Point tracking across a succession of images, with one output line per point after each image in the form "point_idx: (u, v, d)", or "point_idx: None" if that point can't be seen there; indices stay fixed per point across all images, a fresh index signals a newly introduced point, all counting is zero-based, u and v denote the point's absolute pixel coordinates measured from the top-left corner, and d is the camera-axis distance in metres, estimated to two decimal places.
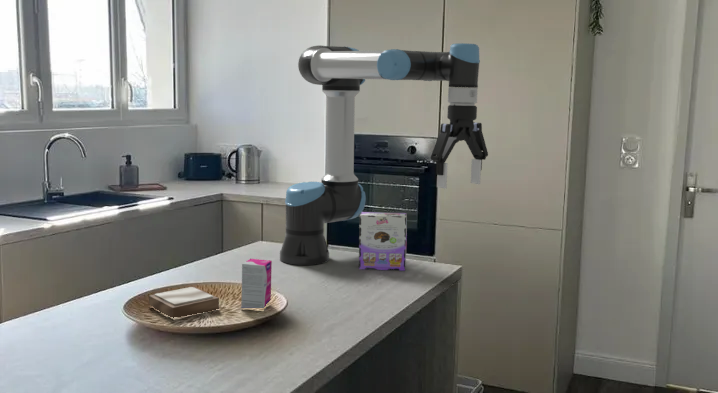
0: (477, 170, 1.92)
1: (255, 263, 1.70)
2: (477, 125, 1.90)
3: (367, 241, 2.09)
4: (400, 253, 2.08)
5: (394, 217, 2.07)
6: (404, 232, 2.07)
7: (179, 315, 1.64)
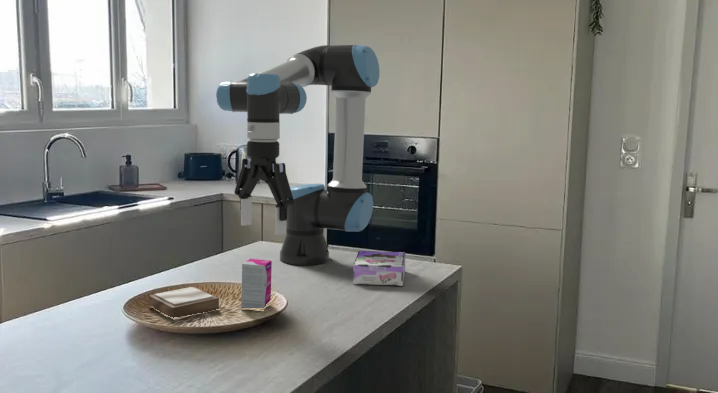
0: None
1: (255, 263, 1.70)
2: None
3: None
4: None
5: None
6: None
7: (179, 315, 1.64)
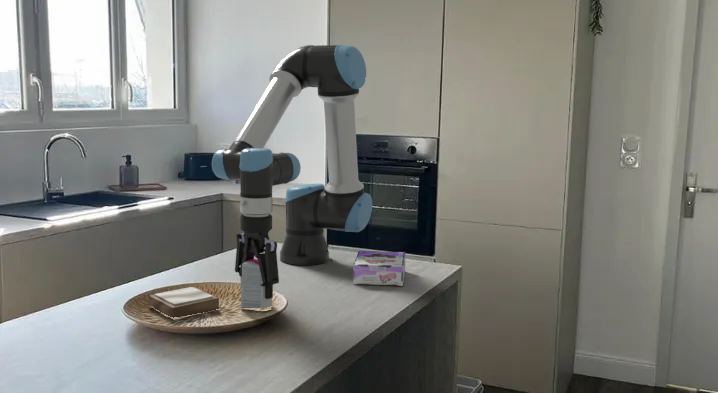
0: None
1: (255, 263, 1.70)
2: None
3: None
4: None
5: None
6: None
7: (179, 315, 1.64)
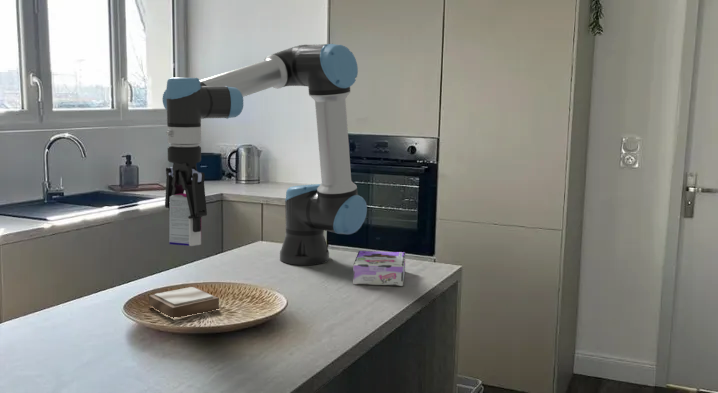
0: None
1: (183, 196, 1.65)
2: None
3: None
4: None
5: None
6: None
7: (179, 315, 1.64)
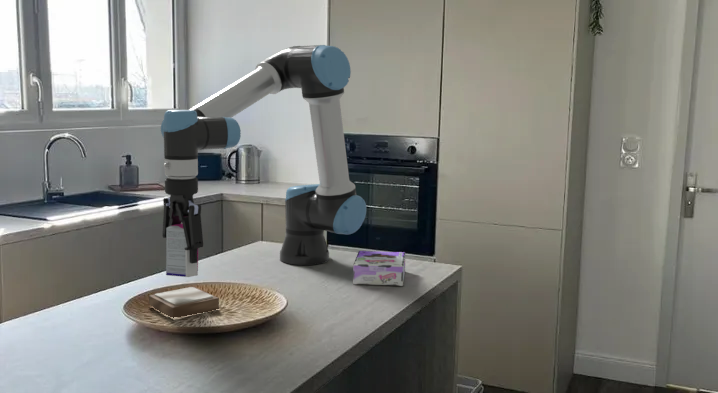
0: None
1: (180, 227, 1.67)
2: None
3: None
4: None
5: None
6: None
7: (179, 315, 1.64)
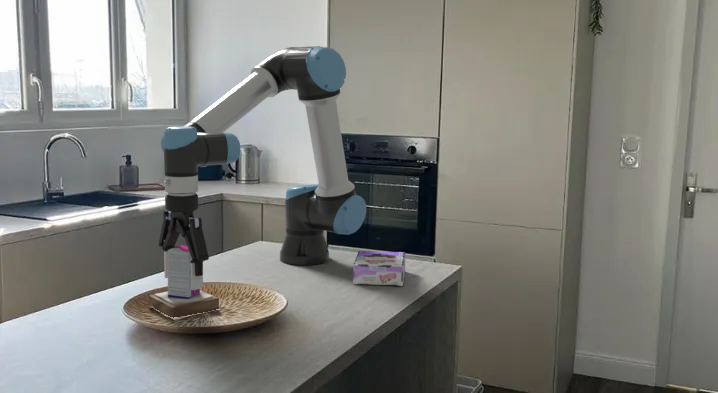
0: None
1: (181, 249, 1.68)
2: None
3: None
4: None
5: None
6: None
7: (179, 315, 1.64)
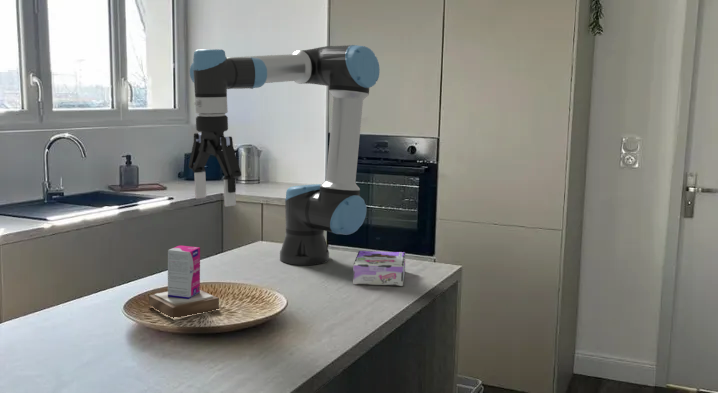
0: None
1: (181, 249, 1.68)
2: None
3: None
4: None
5: None
6: None
7: (179, 315, 1.64)
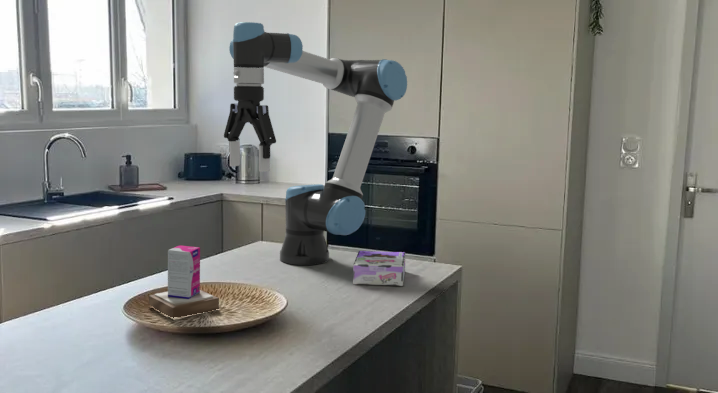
0: None
1: (181, 249, 1.68)
2: None
3: None
4: None
5: None
6: None
7: (179, 315, 1.64)
